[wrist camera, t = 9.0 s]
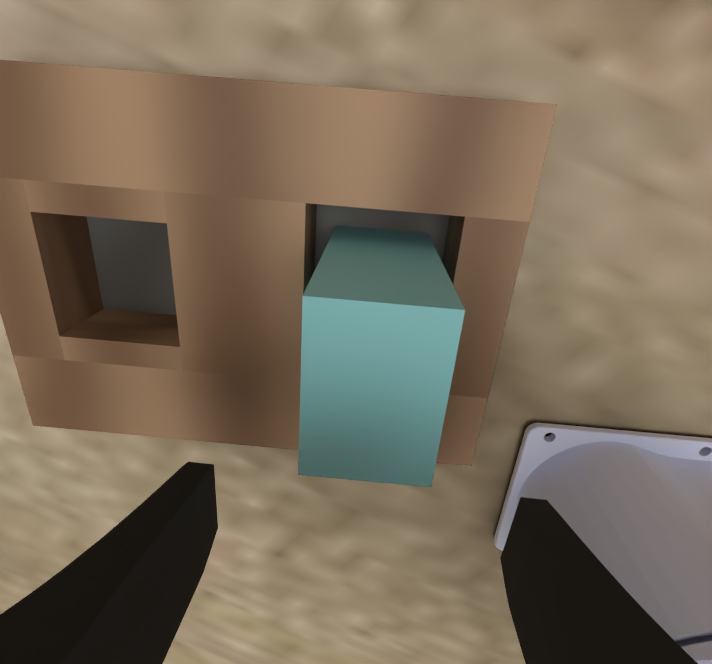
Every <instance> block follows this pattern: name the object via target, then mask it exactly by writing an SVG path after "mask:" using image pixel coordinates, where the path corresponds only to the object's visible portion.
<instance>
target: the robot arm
mask: <svg viewBox="0 0 712 664" xmlns="http://www.w3.org/2000/svg"><path fill="white" fill-rule="evenodd" d="M547 433H552V434H551V435H550V436H546V437H545V434H547ZM702 448H704V449H702ZM701 449H702V450H701ZM217 529H218V523H217V507H216V492H215V476H214V465H212V464H203V463H193V462H188V463H186V464H185V465H184V466H182V467H181V468H180V469H179V470H178V471H177V472H176V473H175V474H174V475H173V476H172V477H170V478H169V479H168V480H167V481H166V482H165V483H164V484H163V485H162V486H161V487H160V488H158V489H157V490H156V491H155V492H154V493H153V494H152V495H151V496H150V497H149V498H147V499H146V500H145V501H144V502H143V503H142V504H141V505H140V506H139V507H137V508H136V509H135V510H134V511H133V512H132V513H131V514H129V515H128V516H127V517H126V518H125V519H124V520H122V521H121V522H120V523H119V524H118V525H117V526H116V527H114V528H113V529H112V530H111V531H110V532H109V533H107V534H106V535H105V536H104V537H103V538H101V539H100V540H99V541H98V542H96V543H95V544H94V545H93V546H91V547H90V548H89V549H88V550H86V551H85V552H84V553H83V554H81V555H80V556H79V557H78V558H76V559H75V560H74V561H73V562H71V563H70V564H69V565H68V566H66V567H65V568H64V569H63V570H61V571H60V572H59V573H57V574H56V575H55V576H53V577H52V578H51V579H49V580H48V581H47V582H45V583H44V584H43V585H41V586H40V587H39V588H37V589H36V590H35V591H33V592H32V593H30V594H29V595H28V596H26V597H25V598H23V599H22V600H21V601H19V602H18V603H16V604H15V605H14V606H12V607H11V608H9V609H8V610H6V611H5V612H4V613H2V614H1V615H0V664H162V663H163V661H164V659H165V657H166V654H167V652H168V650H169V648H170V646H171V643H172V641H173V639H174V637H175V634H176V632H177V630H178V628H179V626H180V623H181V621H182V619H183V617H184V615H185V612H186V610H187V608H188V606H189V603H190V601H191V599H192V597H193V594H194V592H195V590H196V588H197V585H198V583H199V581H200V579H201V576H202V574H203V572H204V569H205V566H206V563H207V560H208V557H209V554H210V551H211V548H212V544H213V541H214V538H215V535H216V532H217ZM494 543H495V546H496V548H497V549H499V550H502V551H503V552H502V555H501V564H502V570H503V576H504V582H505V587H506V593H507V598H508V603H509V608H510V611H511V615H512V618H513V622H514V625H515V629H516V632H517V635H518V639H519V642H520V646H521V649H522V653H523V656H524V659H525V663H526V664H712V438H702V437H691V436H680V435H669V434H658V433H647V432H636V431H625V430H614V429H603V428H592V427H581V426H570V425H559V424H548V423H533V424H531V425H529V426H528V427H527V428H526V430H525V433H524V437H523V440H522V443H521V447H520V450H519V454H518V457H517V461H516V464H515V468H514V471H513V474H512V478H511V481H510V485H509V488H508V492H507V495H506V499H505V502H504V505H503V509H502V512H501V516H500V519H499V523H498V526H497V529H496V533H495V536H494Z"/></svg>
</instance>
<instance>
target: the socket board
mask: <svg viewBox="0 0 712 664" xmlns="http://www.w3.org/2000/svg"><path fill="white" fill-rule="evenodd" d="M556 108H557V104H546V103H533V102H521V101H508V100H496V99H483V98H471V97H458V96H445V95H433V94H420V93H408V92H395V91H383V90H370V89H358V88H345V87H333V86H320V85H308V84H295V83H283V82H270V81H258V80H245V79H233V78H220V77H208V76H195V75H183V74H170V73H158V72H145V71H133V70H120V69H108V68H95V67H82V66H70V65H57V64H45V63H32V62H20V61H7V60H0V312H1V316H2V319H3V323H4V326H5V330H6V333H7V337H8V340H9V344H10V347H11V351H12V354H13V358H14V361H15V364H16V368H17V371H18V375H19V378H20V382H21V385H22V389H23V392H24V396H25V399H26V403H27V406H28V410H29V413H30V416H31V420H32V423H33V425H34V426H45V427H56V428H67V429H77V430H88V431H99V432H110V433H121V434H131V435H142V436H153V437H164V438H175V439H185V440H196V441H207V442H218V443H229V444H239V445H250V446H261V447H272V448H283V449H293V450H299V425H300V383H301V341H302V299H303V294H304V292H305V290H306V288H307V286H308V284H309V282H310V279H311V277H312V275H313V273H314V271H315V269H316V267H317V265H318V263H319V261H320V259H321V256H322V254H323V252H324V250H325V248H326V246H327V244H328V242H329V240H330V238H331V236H332V234H333V231H334V229H335V227H336V225H339V226H351V227H363V228H375V229H386V230H398V231H410V232H422V233H428V234H429V237H430V239H431V241H432V243H433V245H434V247H435V249H436V251H437V253H438V255H439V257H440V259H441V261H442V263H443V265H444V267H445V269H446V272H447V274H448V276H449V278H450V280H451V282H452V284H453V286H454V288H455V290H456V292H457V294H458V296H459V298H460V300H461V302H462V304H463V307H464V309H465V314H464V319H463V324H462V330H461V335H460V340H459V345H458V350H457V356H456V361H455V366H454V371H453V376H452V382H451V387H450V392H449V397H448V402H447V408H446V413H445V418H444V423H443V428H442V434H441V439H440V444H439V449H438V454H437V460H436V463H445V464H456V465H466V466H472V462H473V458H474V454H475V450H476V445H477V441H478V437H479V433H480V428H481V424H482V420H483V416H484V412H485V407H486V403H487V399H488V395H489V391H490V386H491V382H492V378H493V374H494V369H495V365H496V361H497V357H498V353H499V348H500V344H501V340H502V336H503V332H504V327H505V323H506V319H507V315H508V310H509V306H510V302H511V298H512V294H513V289H514V285H515V281H516V277H517V273H518V268H519V264H520V260H521V256H522V251H523V247H524V243H525V239H526V235H527V230H528V226H529V222H530V218H531V214H532V209H533V205H534V201H535V197H536V192H537V188H538V184H539V180H540V176H541V171H542V167H543V163H544V159H545V155H546V150H547V146H548V142H549V138H550V133H551V129H552V125H553V121H554V117H555V112H556Z"/></svg>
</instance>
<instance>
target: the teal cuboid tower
mask: <svg viewBox="0 0 712 664" xmlns="http://www.w3.org/2000/svg"><path fill="white" fill-rule="evenodd" d="M464 314H465V309H464V307H463V304H462V302H461V300H460V298H459V296H458V294H457V292H456V290H455V288H454V286H453V284H452V282H451V280H450V278H449V276H448V274H447V272H446V269H445V267H444V265H443V263H442V261H441V259H440V257H439V255H438V253H437V251H436V249H435V247H434V245H433V243H432V241H431V239H430V237H429V234H428V233H422V232H410V231H398V230H386V229H375V228H363V227H351V226H339V225H336V227H335V229H334V231H333V234H332V236H331V238H330V240H329V242H328V244H327V246H326V248H325V250H324V252H323V254H322V256H321V259H320V261H319V263H318V265H317V267H316V269H315V271H314V273H313V275H312V277H311V279H310V282H309V284H308V286H307V288H306V290H305V292H304V294H303V299H302V341H301V383H300V425H299V467H298V475H306V476H317V477H327V478H338V479H349V480H360V481H370V482H381V483H392V484H403V485H413V486H424V487H431V486H432V480H433V475H434V470H435V465H436V460H437V454H438V449H439V444H440V439H441V434H442V428H443V423H444V418H445V413H446V408H447V402H448V397H449V392H450V387H451V382H452V376H453V371H454V366H455V361H456V356H457V350H458V345H459V340H460V335H461V330H462V324H463V319H464Z"/></svg>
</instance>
